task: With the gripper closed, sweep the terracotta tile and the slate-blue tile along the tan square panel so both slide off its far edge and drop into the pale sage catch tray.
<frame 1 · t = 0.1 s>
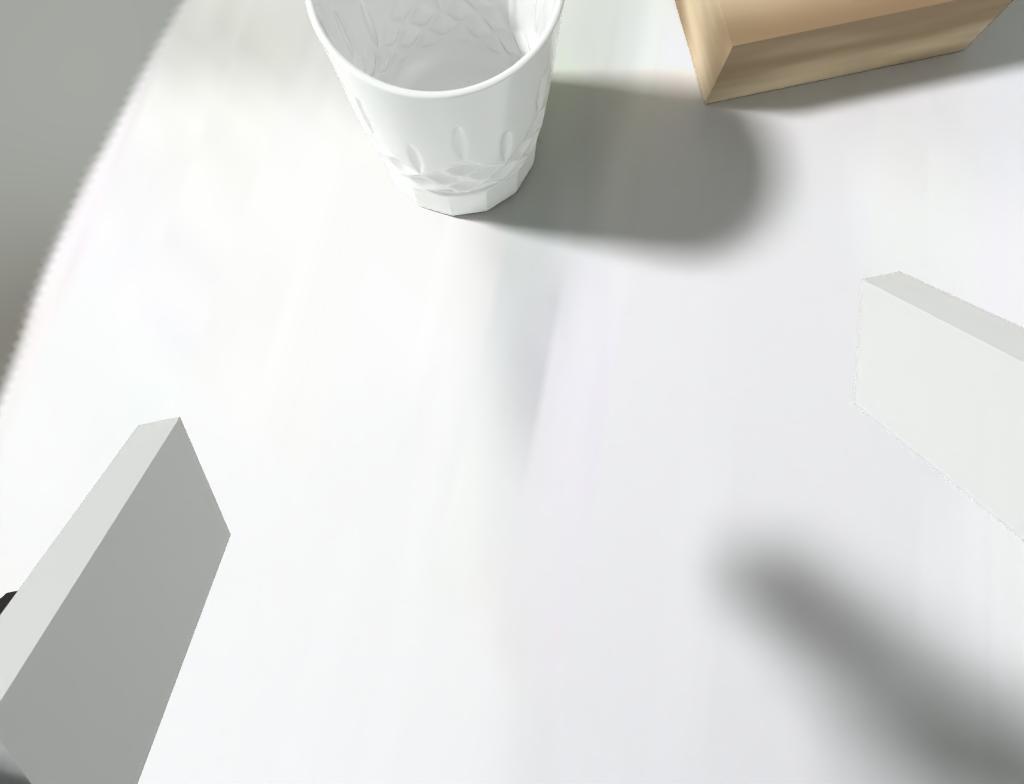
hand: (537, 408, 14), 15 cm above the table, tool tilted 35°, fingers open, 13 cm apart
white cup: (460, 147, 31), on the table
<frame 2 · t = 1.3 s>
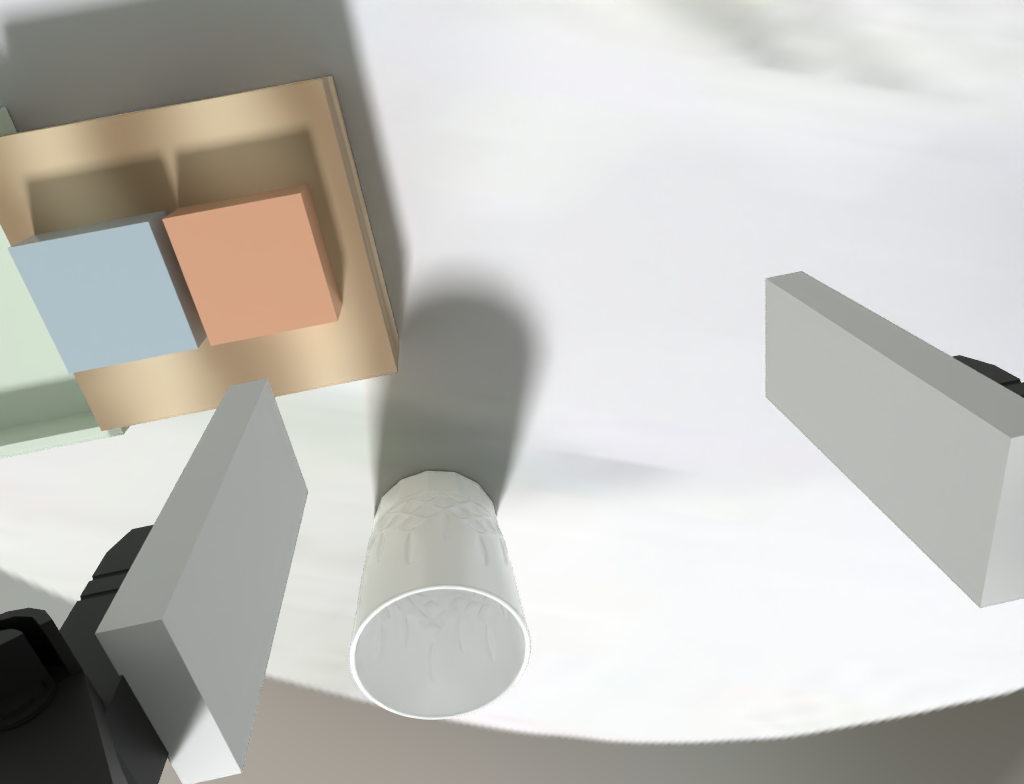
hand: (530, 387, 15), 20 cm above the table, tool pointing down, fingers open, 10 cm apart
tan square panel: (225, 245, 32), on the table
tile a: (264, 258, 28), point 4 cm above the table, touching tan square panel
white cup: (435, 517, 40), on the table
tile b: (126, 284, 28), point 4 cm above the table, touching tan square panel
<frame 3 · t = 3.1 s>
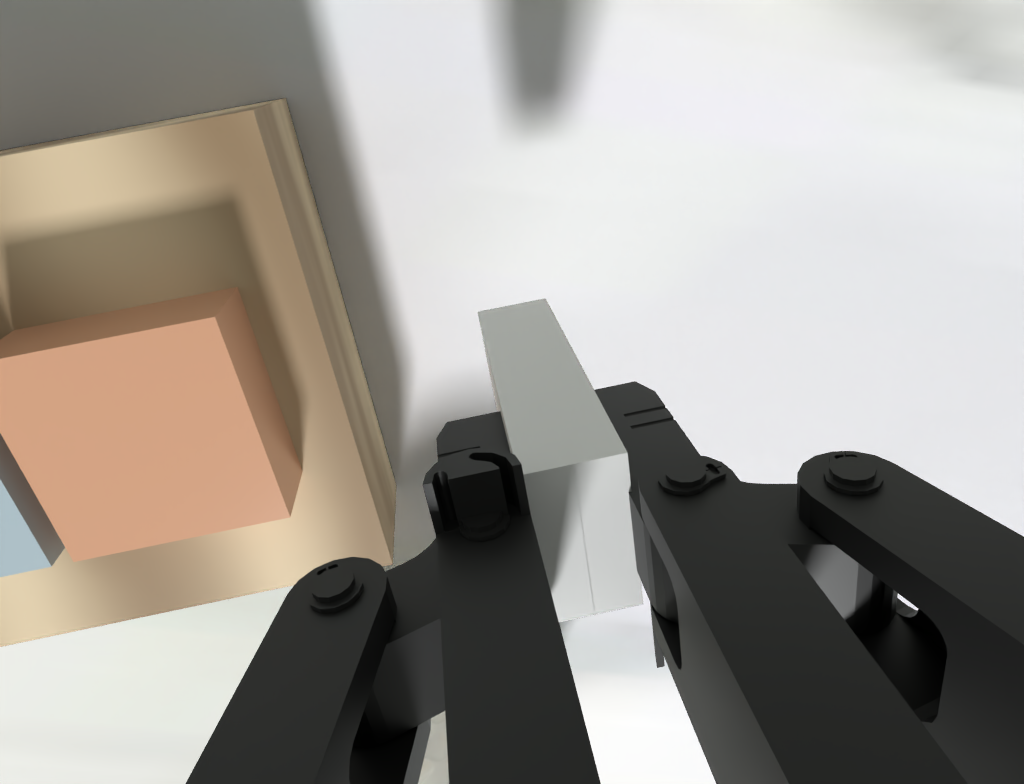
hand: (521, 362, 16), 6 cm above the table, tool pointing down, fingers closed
tan square panel: (125, 360, 20), on the table
tile a: (168, 405, 17), point 4 cm above the table, touching tan square panel
white cup: (448, 709, 28), on the table
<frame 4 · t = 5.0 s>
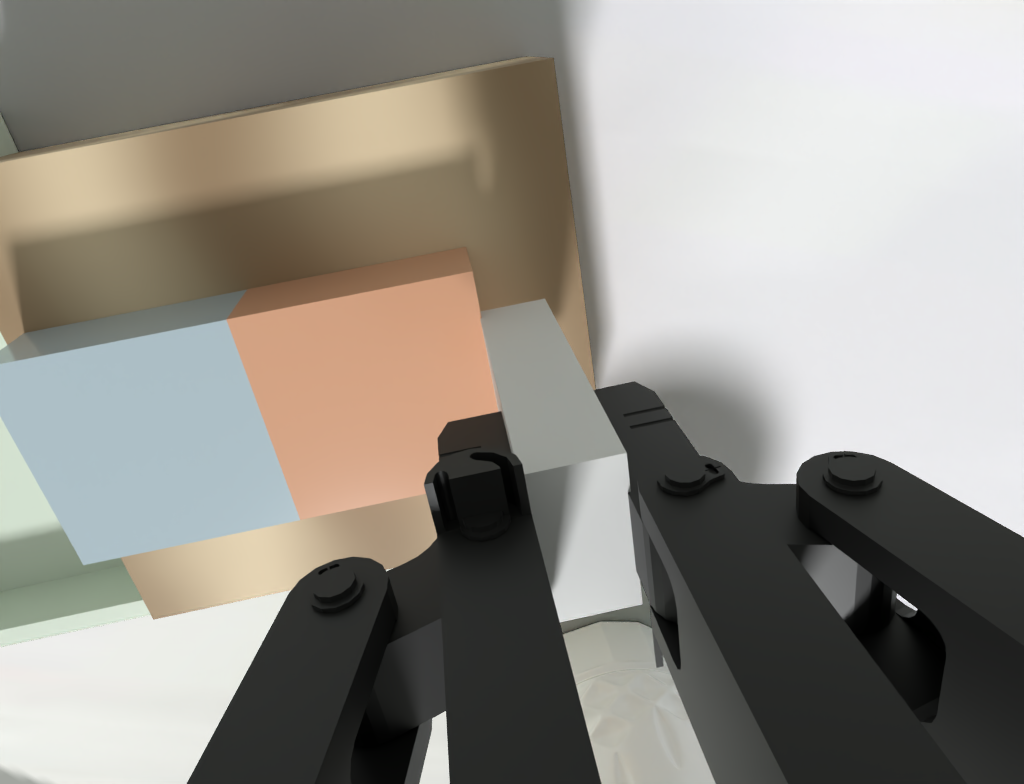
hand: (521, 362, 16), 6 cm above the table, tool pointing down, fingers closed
tan square panel: (340, 321, 21), on the table
tile a: (384, 366, 17), point 4 cm above the table, touching gripper, tile b
white cup: (601, 677, 29), on the table
tile b: (178, 408, 17), point 4 cm above the table, touching tile a
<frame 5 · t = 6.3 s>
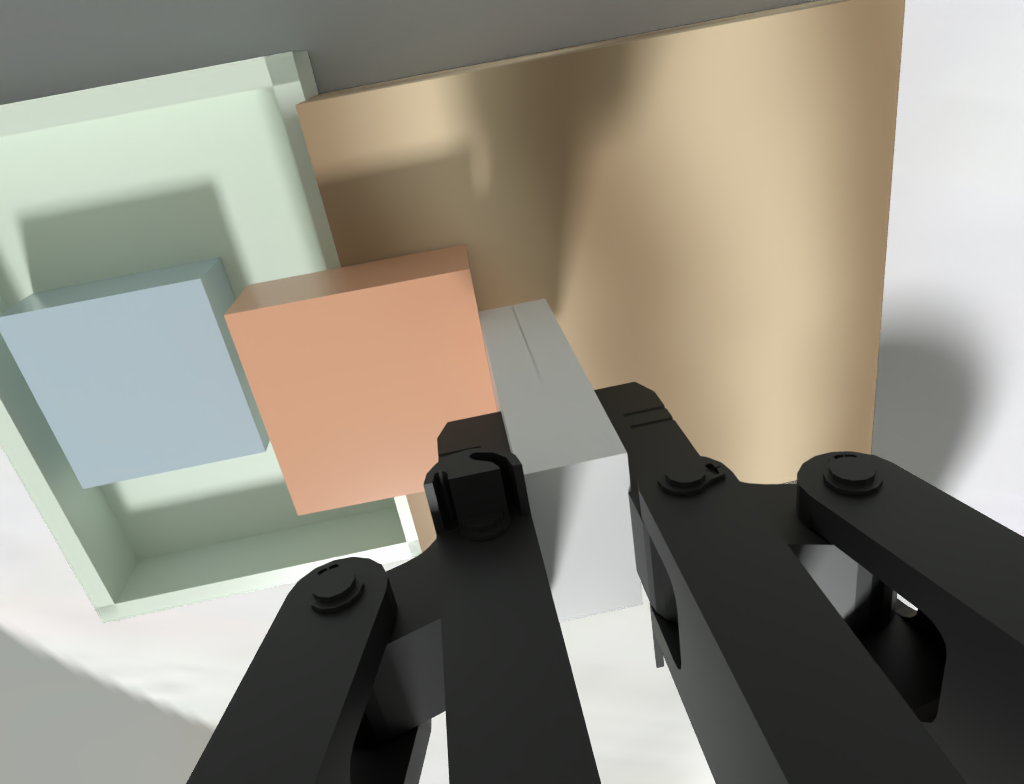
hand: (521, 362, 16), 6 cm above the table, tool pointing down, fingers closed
catch tray: (207, 347, 20), on the table
tan square panel: (594, 269, 21), on the table
tile a: (383, 363, 17), point 4 cm above the table, touching gripper
tile b: (138, 389, 18), point 2 cm above the table, tilted 180°, touching catch tray
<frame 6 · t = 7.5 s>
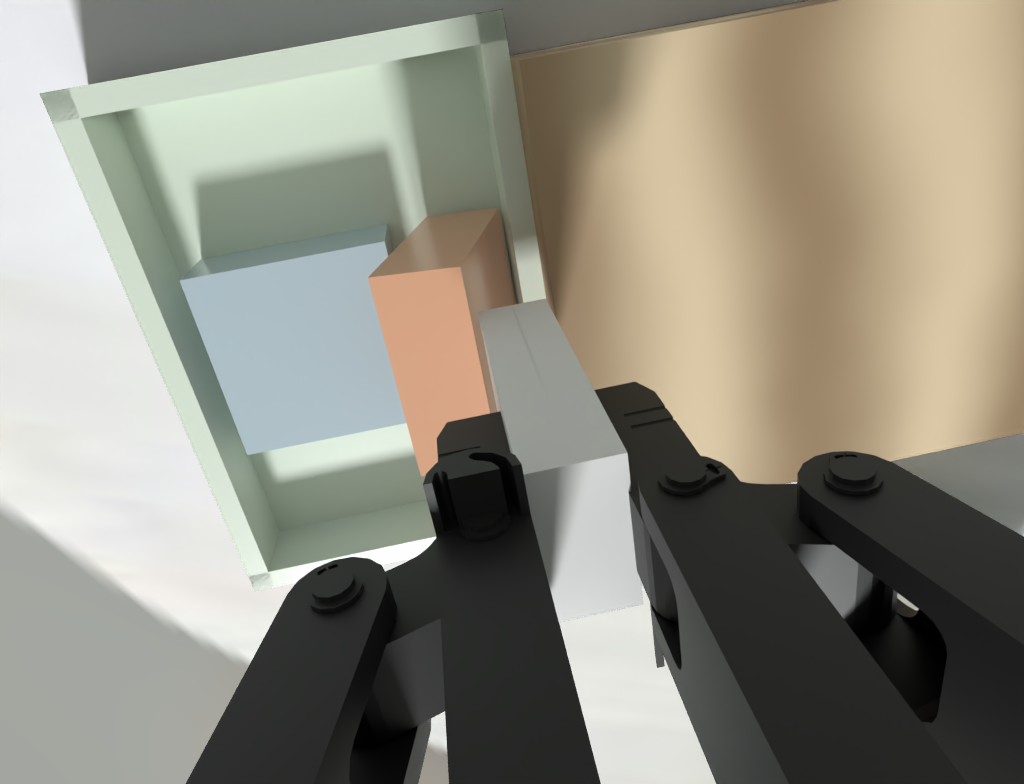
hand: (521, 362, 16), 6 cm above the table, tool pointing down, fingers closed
catch tray: (364, 314, 21), on the table
tan square panel: (747, 238, 21), on the table
tile a: (500, 331, 18), point 3 cm above the table, tilted 105°, touching catch tray, gripper
tile b: (312, 354, 18), point 2 cm above the table, tilted 180°, touching catch tray
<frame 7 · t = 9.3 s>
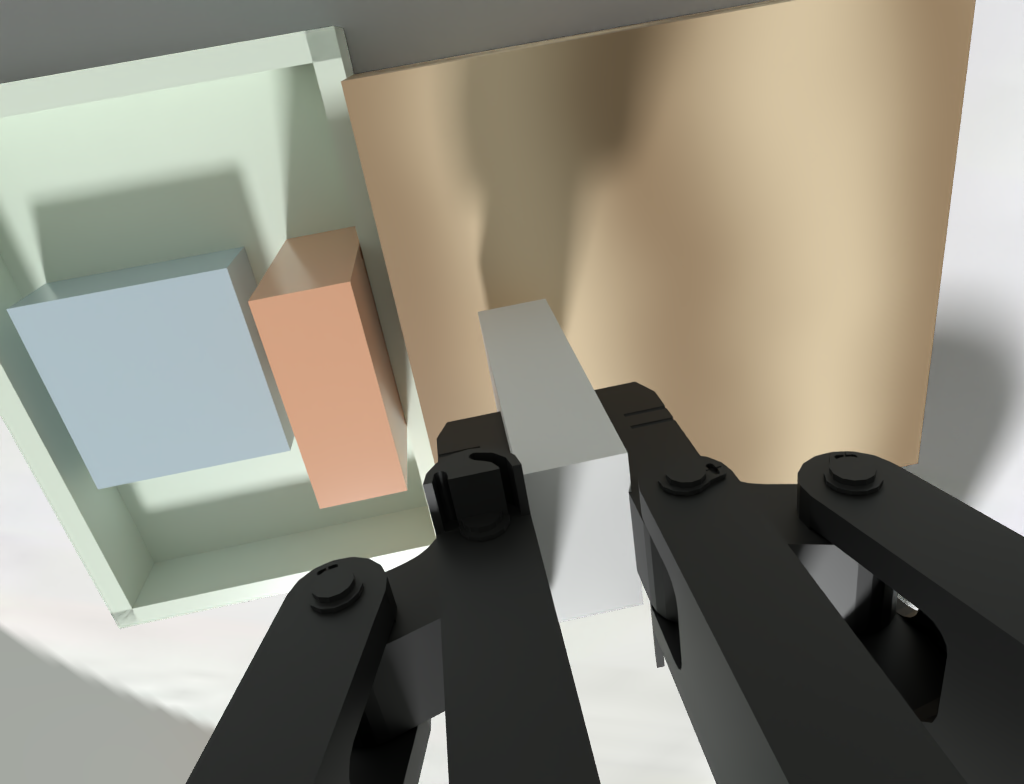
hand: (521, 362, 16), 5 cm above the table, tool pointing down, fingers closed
catch tray: (230, 340, 20), on the table
tan square panel: (633, 261, 20), on the table
tile a: (384, 349, 17), point 3 cm above the table, tilted 90°, touching catch tray
tile b: (158, 385, 17), point 2 cm above the table, tilted 180°, touching catch tray
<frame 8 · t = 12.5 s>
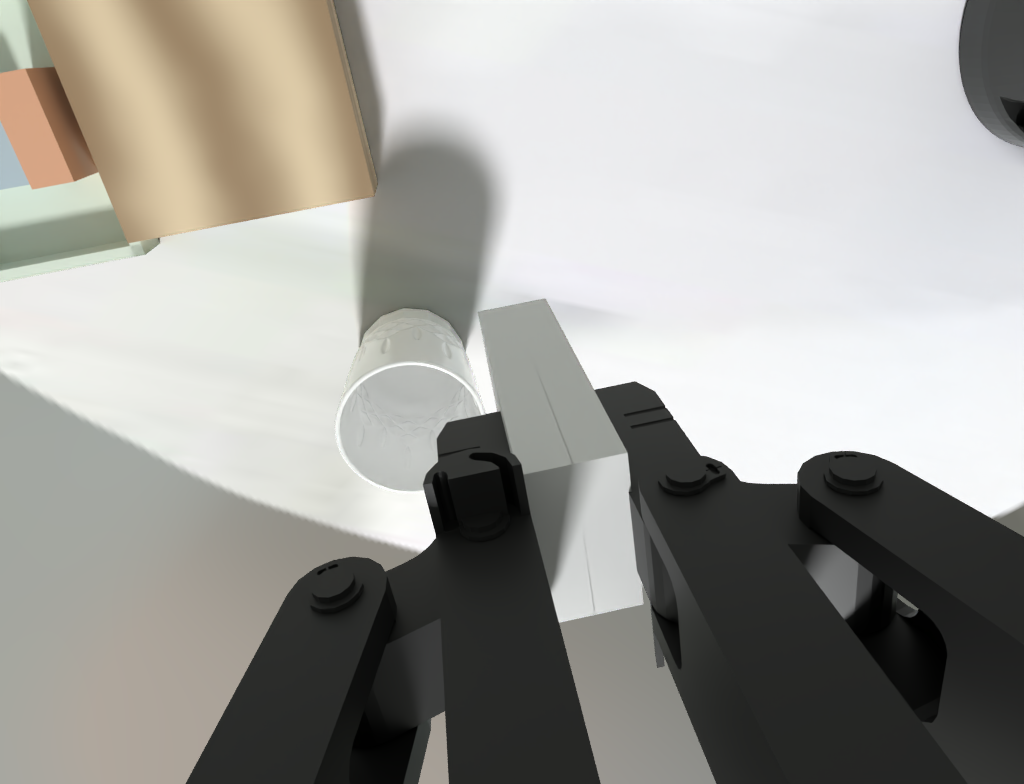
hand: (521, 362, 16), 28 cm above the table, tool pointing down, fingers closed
catch tray: (14, 132, 37), on the table
tan square panel: (230, 93, 38), on the table
tile a: (73, 122, 35), point 3 cm above the table, tilted 90°, touching catch tray
white cup: (412, 355, 46), on the table
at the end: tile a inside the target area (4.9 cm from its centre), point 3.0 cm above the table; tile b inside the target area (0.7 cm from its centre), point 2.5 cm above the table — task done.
